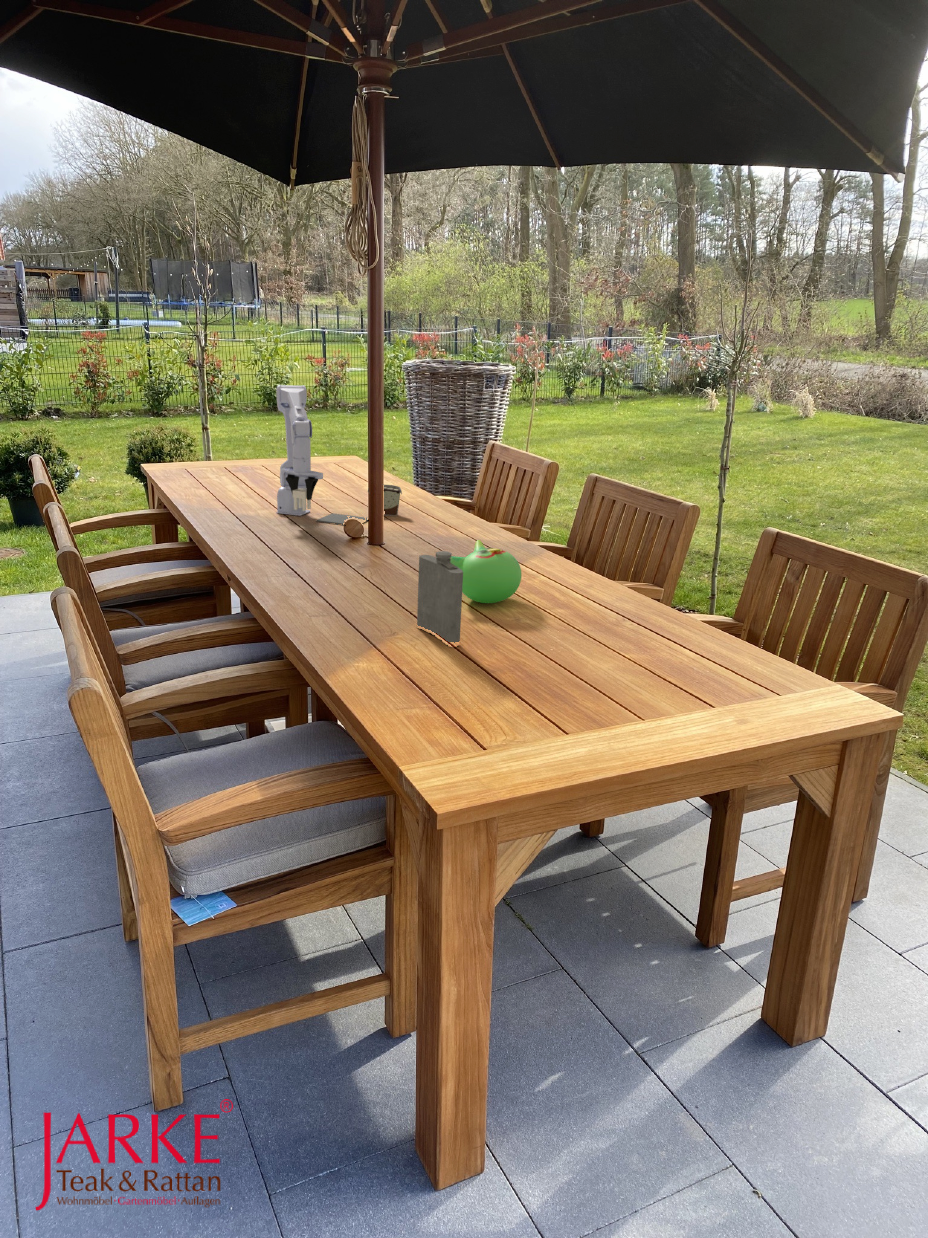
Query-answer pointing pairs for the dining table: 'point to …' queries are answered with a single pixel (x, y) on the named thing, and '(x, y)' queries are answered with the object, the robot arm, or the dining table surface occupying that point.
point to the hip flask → (440, 595)
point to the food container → (391, 499)
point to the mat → (336, 518)
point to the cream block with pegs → (301, 499)
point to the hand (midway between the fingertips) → (302, 498)
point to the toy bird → (488, 574)
